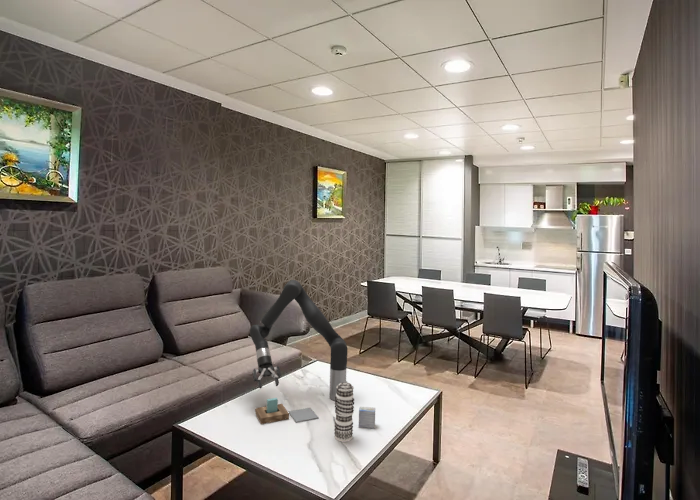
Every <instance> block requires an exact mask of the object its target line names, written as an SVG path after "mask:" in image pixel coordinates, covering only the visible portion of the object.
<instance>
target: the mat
mask: <svg viewBox="0 0 700 500" xmlns="http://www.w3.org/2000/svg"><path fill="white" fill-rule="evenodd" d="M287 411H288V410H287ZM288 412H289V416H291V418H292V420H293V421H294V422H295V424H297V423H302V422H308V421H314V420H319V416H318V415H317V414H316V413H315V411H314V410H313V409H312V408H311V407H305V408H299V409H294V410H289V411H288Z"/></svg>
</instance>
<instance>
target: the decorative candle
mask: <svg viewBox="0 0 700 500" xmlns="http://www.w3.org/2000/svg"><path fill="white" fill-rule="evenodd" d="M336 388H337V393H336V396H335V401H334V402H335V403H334V409H335V410H334V412H335V421H334V430H333V431H334V433H333V434H334V439H335V440H336V441H338V442H343V443H344V442H349V441H351V440H352V439H353V434H354V433H353V431H354V429H353V428H354V426H353V425H354V422H353V421H354V419H353V414H354V411H355V410H354V409H355V407H354V405H355V398H354V393H353V392H354V389H355V387H354V385H352V384H351V383H350V382H348V381H347V382H342V383H340V384H339V385H338V386H337V387H336ZM336 399H337V400H336Z"/></svg>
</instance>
